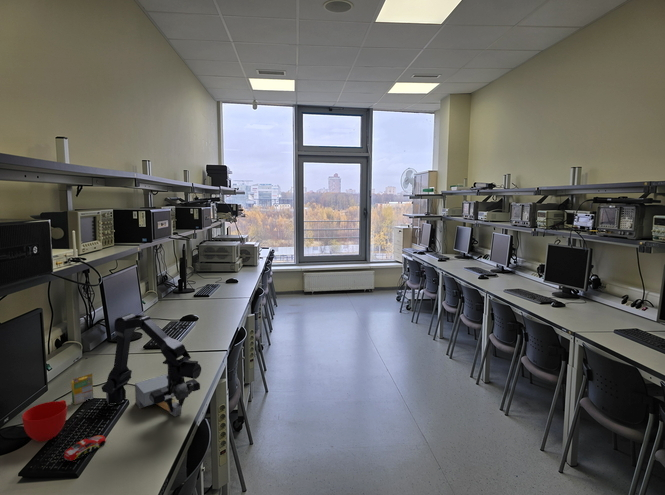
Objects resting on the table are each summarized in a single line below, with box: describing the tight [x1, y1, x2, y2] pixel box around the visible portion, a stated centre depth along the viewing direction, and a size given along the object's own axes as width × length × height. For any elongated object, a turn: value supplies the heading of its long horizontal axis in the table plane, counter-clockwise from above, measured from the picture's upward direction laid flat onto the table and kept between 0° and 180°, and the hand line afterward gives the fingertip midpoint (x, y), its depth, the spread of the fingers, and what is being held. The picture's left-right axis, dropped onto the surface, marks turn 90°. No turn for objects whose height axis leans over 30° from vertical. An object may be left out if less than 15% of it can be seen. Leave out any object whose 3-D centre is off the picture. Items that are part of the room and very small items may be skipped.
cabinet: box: [134, 373, 176, 409], centre depth 163 cm, size 13×11×9 cm
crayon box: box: [70, 373, 94, 406], centre depth 163 cm, size 7×3×12 cm, turn 141°
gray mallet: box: [156, 401, 183, 417], centre depth 158 cm, size 3×15×4 cm, turn 57°
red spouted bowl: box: [21, 399, 68, 443], centre depth 140 cm, size 13×17×10 cm
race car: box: [63, 434, 107, 462], centre depth 132 cm, size 13×5×4 cm, turn 154°
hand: (175, 410), depth 155 cm, fingers closed on gray mallet, 3 cm apart
